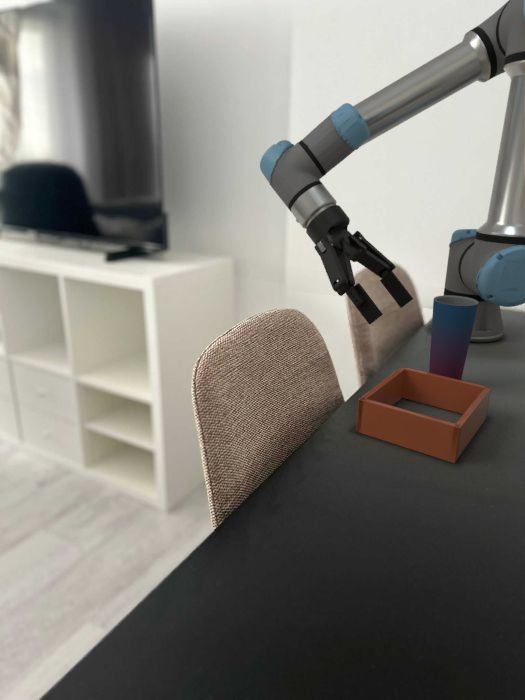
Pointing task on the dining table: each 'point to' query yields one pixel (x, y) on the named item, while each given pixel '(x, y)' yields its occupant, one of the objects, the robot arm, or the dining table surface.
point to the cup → (451, 334)
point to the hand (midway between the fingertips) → (392, 311)
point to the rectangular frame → (420, 429)
